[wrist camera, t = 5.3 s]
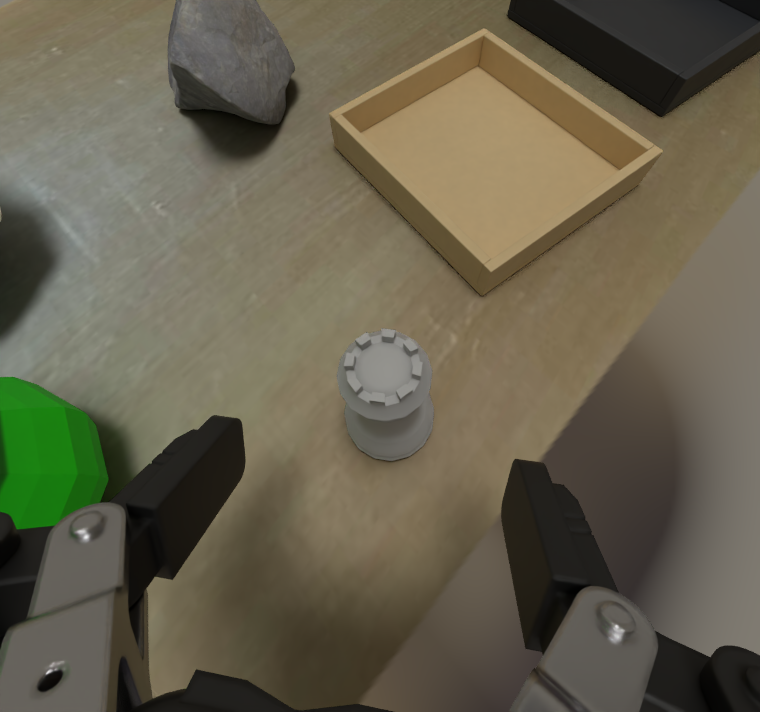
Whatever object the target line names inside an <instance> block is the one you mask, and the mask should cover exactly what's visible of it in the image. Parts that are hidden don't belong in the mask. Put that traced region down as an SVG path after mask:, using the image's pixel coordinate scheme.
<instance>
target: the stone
mask: <svg viewBox="0 0 760 712" xmlns="http://www.w3.org/2000/svg"><path fill="white" fill-rule="evenodd" d="M294 70H295V66H294V63H293V61H292V59H291V57H290V55H289V52H288V50H287V48H286V46H285V44H284V42H283V40H282V38H281V37H280V35H279V33H278V31H277V29H276V28H275V26H274V24H273V23H272V22H271V21H270V20H269V19H268V18H267V16H266V15H265V13H264V12H263V11H262V10H261V8H260V6H259V5H258V3H257V1H256V0H176V4H175V9H174V12H173V18H172V21H171V25H170V32H169V39H168V73H169V83H170V86H171V88H172V90H173V91H174V95H175V105H176V107H178V108H181V109H187V110H195V109H209V110H211V109H212V110H220V111H224V112H228V113H232V114H236V115H238V116H241V117H243V118H245V119H248V120H251V121H255V122H259V123H264V124H278V123H279V122H280V121H281V120H282V117H283V114H284V111H285V108H286V97H285V89H286V87H287V85H288V83H289V80H290V77H291V75H292V73H293V72H294Z"/></svg>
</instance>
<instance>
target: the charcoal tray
mask: <svg viewBox="0 0 760 712" xmlns="http://www.w3.org/2000/svg"><path fill="white" fill-rule="evenodd" d="M507 16H508V17H509V18H511V19H512V20H514V21H515V22H517V23H519V24H520V25H522V26H523V27H525V28H526V29H528V30H529V31H531V32H532V33H534V34H535V35H537V36H538V37H540V38H542V39H543V40H545V41H546V42H548V43H549V44H551V45H552V46H554V47H555V48H557V49H558V50H560V51H561V52H563V53H565V54H566V55H568V56H569V57H571V58H572V59H574V60H575V61H577V62H578V63H580V64H581V65H583V66H584V67H586V68H587V69H589V70H591V71H592V72H594V73H595V74H597V75H598V76H600V77H601V78H603V79H604V80H606V81H607V82H609V83H610V84H612V85H614V86H615V87H617V88H618V89H620V90H621V91H623V92H624V93H626V94H627V95H629V96H630V97H632V98H633V99H635V100H637V101H638V102H640V103H641V104H643V105H644V106H646V107H647V108H649V109H650V110H652V111H653V112H655V113H656V114H658V115H660V116H661V117H662V116H663V115H665V114H666V113H668V112H669V111H671V110H672V109H674V108H675V107H677V106H678V105H680V104H681V103H683V102H684V101H686V100H687V99H689V98H690V97H691V96H693V95H694V94H696V93H697V92H699V91H700V90H702V89H703V88H705V87H706V86H708V85H709V84H711V83H712V82H714V81H715V80H717V79H718V78H719V77H721V76H722V75H724V74H725V73H727V72H728V71H730V70H731V69H733V68H734V67H736V66H737V65H739V64H740V63H742V62H743V61H745V60H746V59H748V58H749V57H750V56H752V55H753V54H755V53H756V52H758V51H759V50H760V0H511V2H510V6H509V10H508V15H507Z"/></svg>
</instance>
